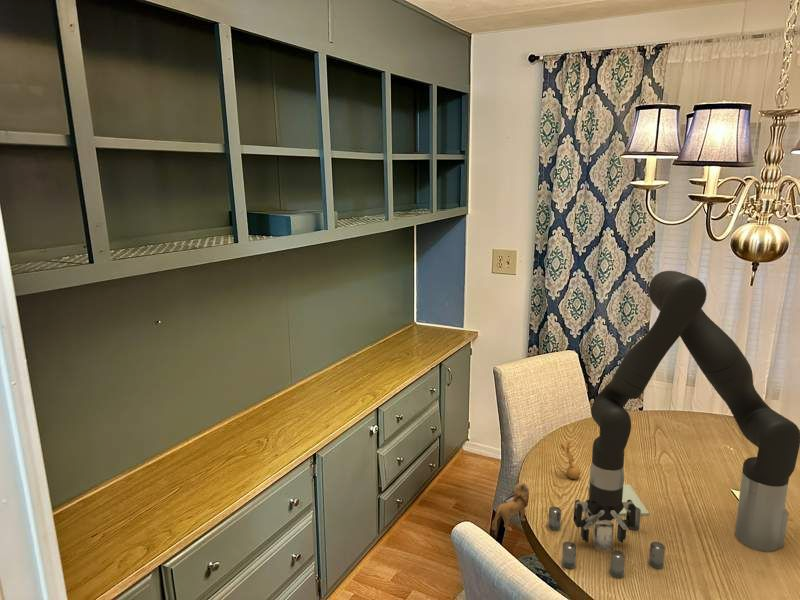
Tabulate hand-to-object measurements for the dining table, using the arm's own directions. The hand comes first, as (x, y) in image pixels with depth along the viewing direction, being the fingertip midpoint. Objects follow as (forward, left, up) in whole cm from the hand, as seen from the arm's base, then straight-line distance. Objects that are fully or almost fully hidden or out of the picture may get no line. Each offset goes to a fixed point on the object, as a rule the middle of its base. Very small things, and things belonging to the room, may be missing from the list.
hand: (602, 540), depth 134 cm
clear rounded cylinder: (0, 0, -1) cm, 1 cm away
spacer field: (0, 0, -1) cm, 1 cm away
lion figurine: (+21, -9, -2) cm, 23 cm away
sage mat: (-10, -19, -1) cm, 22 cm away
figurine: (0, -31, -1) cm, 31 cm away
